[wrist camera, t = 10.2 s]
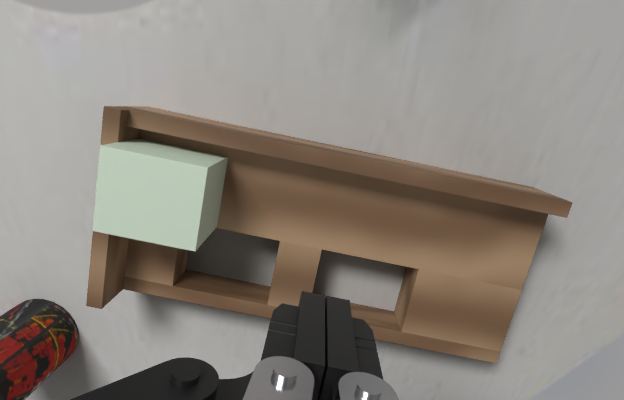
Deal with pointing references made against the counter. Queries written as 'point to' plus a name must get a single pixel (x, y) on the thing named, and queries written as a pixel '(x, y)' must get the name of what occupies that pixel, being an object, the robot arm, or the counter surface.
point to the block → (158, 193)
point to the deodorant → (33, 345)
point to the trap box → (342, 232)
